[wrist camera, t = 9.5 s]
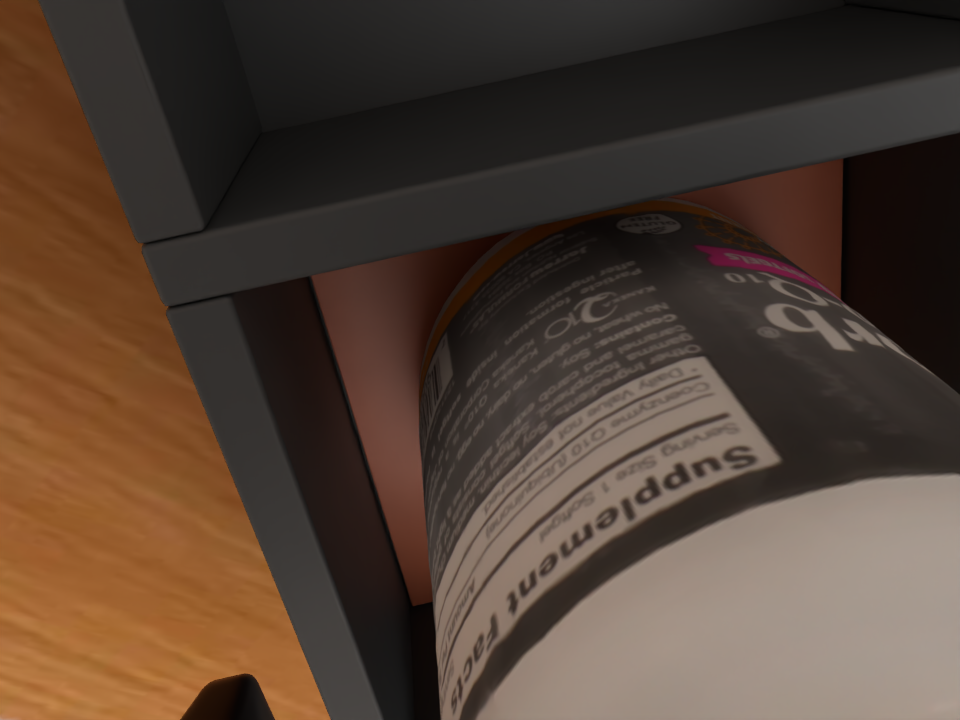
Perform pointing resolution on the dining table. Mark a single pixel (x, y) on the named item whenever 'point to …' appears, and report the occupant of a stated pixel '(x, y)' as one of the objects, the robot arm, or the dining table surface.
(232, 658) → the dining table surface
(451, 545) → the pill bottle
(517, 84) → the grid
